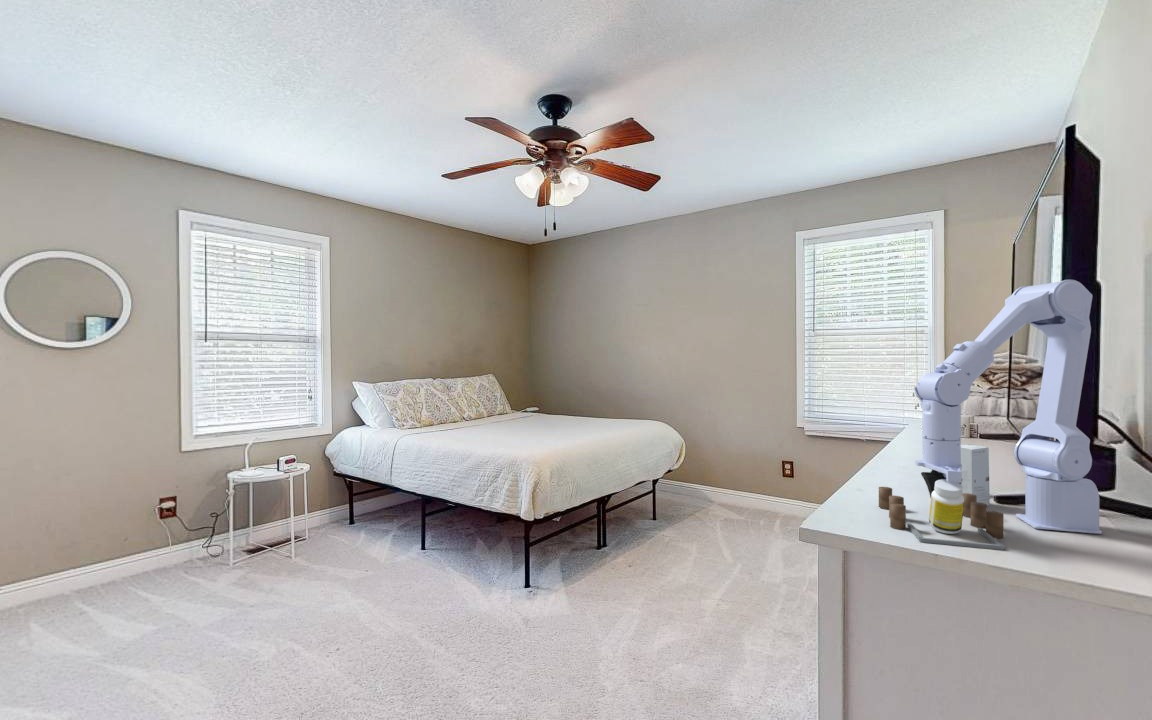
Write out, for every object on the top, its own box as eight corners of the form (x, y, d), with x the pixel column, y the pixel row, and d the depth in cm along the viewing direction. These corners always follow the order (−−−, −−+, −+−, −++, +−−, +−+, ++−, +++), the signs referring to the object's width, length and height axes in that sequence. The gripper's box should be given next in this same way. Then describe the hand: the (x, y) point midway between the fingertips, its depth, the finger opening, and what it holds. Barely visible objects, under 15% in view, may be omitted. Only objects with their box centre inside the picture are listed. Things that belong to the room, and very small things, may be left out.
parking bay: (981, 531, 93) (981, 528, 93) (1004, 550, 84) (1004, 546, 84) (905, 524, 97) (905, 521, 97) (920, 541, 88) (920, 538, 88)
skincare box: (973, 509, 106) (973, 449, 106) (949, 503, 110) (949, 445, 110) (991, 505, 108) (991, 446, 108) (967, 499, 113) (967, 443, 112)
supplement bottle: (967, 533, 91) (972, 491, 89) (939, 535, 91) (943, 493, 89) (950, 517, 96) (954, 476, 93) (923, 519, 96) (926, 478, 93)
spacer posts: (972, 512, 103) (972, 492, 103) (1006, 538, 89) (1006, 515, 89) (874, 505, 109) (874, 486, 109) (891, 528, 95) (891, 506, 95)
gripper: (905, 431, 103) (905, 500, 104) (927, 443, 90) (927, 523, 90) (948, 433, 101) (948, 503, 101) (976, 446, 87) (976, 527, 88)
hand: (941, 513), depth 95 cm, fingers closed, pressing on supplement bottle
